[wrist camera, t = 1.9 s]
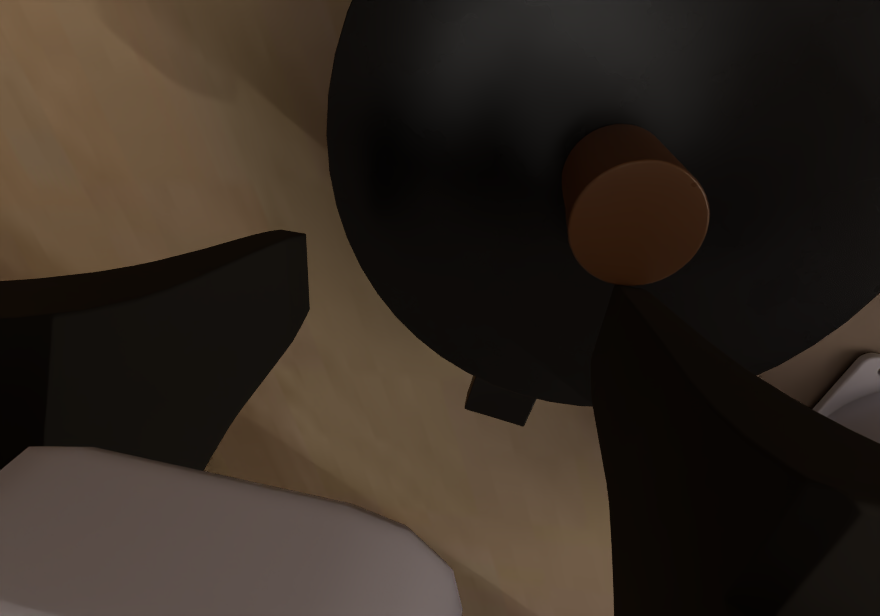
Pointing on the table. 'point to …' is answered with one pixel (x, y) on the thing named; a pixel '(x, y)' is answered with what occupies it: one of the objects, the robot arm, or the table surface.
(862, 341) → the table surface
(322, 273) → the table surface
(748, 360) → the lid
